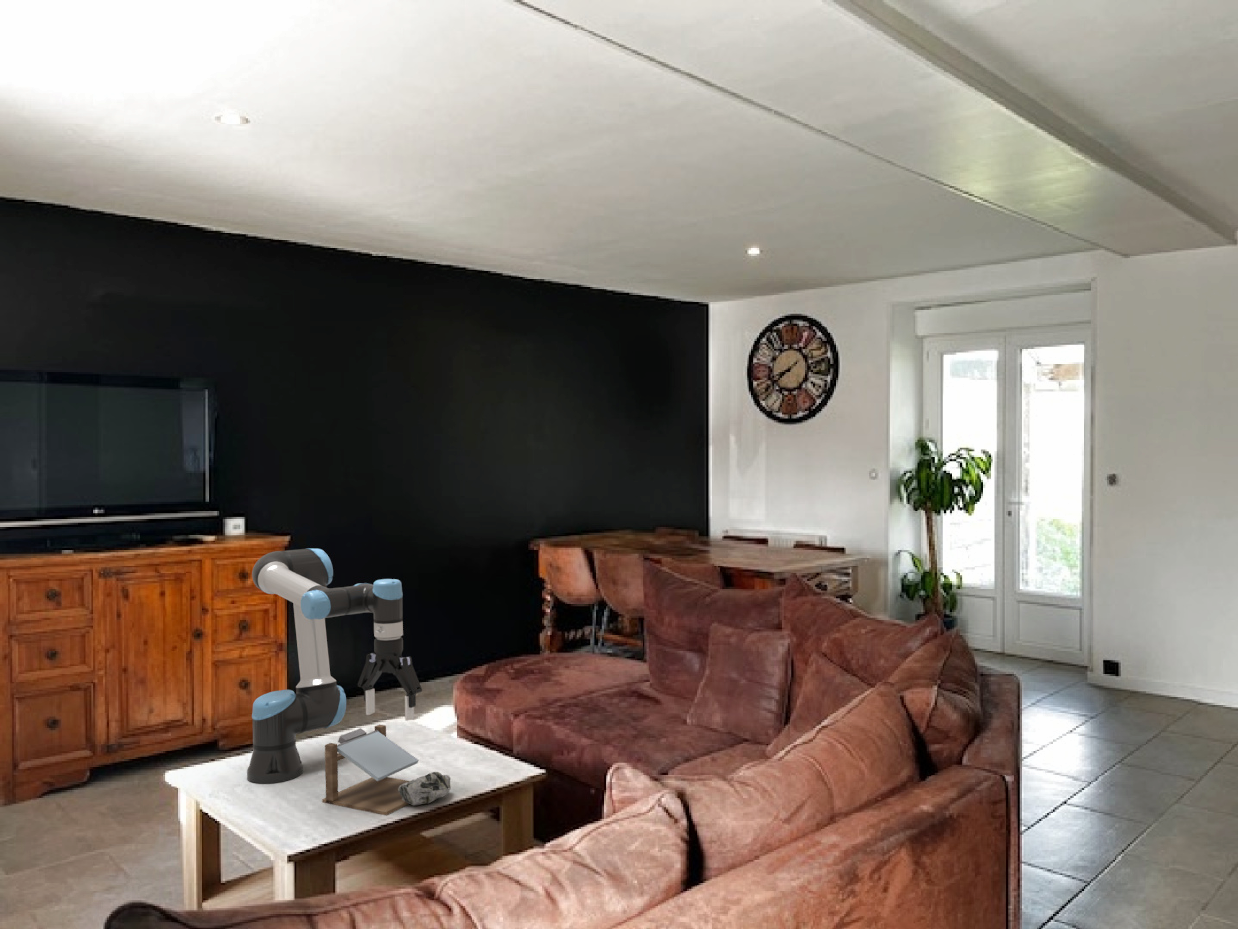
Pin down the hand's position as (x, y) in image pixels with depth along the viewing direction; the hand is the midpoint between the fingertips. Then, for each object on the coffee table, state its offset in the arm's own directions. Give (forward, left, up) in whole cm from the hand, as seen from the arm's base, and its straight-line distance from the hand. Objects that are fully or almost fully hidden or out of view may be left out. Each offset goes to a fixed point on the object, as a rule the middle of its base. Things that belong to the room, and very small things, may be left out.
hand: (389, 716), depth 250 cm
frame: (-3, 0, -22) cm, 22 cm away
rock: (+9, +2, -15) cm, 18 cm away
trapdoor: (-6, 0, -11) cm, 13 cm away
